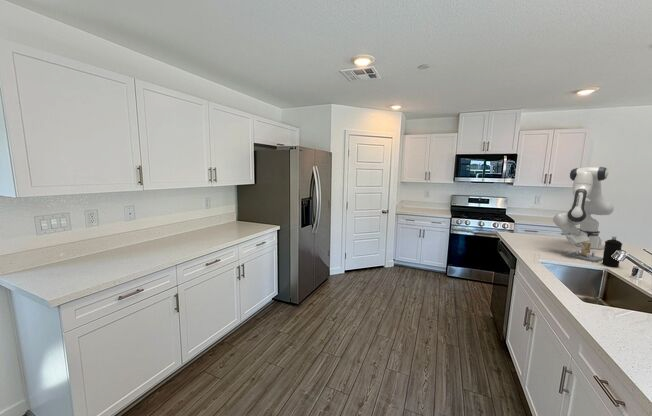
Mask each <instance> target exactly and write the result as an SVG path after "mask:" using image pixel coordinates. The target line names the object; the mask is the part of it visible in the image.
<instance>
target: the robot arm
mask: <svg viewBox="0 0 652 416" xmlns="http://www.w3.org/2000/svg"><path fill="white" fill-rule="evenodd" d="M608 176H609V170H608V168H607V167H604V166H599V167H598V166H588V167H575V168H573V169H571V170H570V173H569V179H570V180H571V181H573V183H572V195H573V197H574V198H573V201H572V202H573V203H572V205H571V208H570V209H569V210H568V212H566V213H563V212H562V213H561V212H560V213H557V214H556V215H554V217H553V219H552V222H553V223H554V224H555V226H556V227H557V228H558V229H559V230H561V232H562V233H563V235H564V236H565V237H566V240H567V241H568V242H569V243H570V244H571V245H572V246H577V247H579V248H581V249H586V247H585V246H583V245H582V243H583V242H589V243H591V247H590V249H593V250H594V249H595V250H596V249H597V250H602V249H604V247H605V244H602V243H603V242H602V241H603V240H602V239H601V238H600V236H599V235H600V231H599V224H600V223H599V221H598V220H597V219H596V218H594V217H592V215H594V216H609V215H611V214H612V213H613V212H614V210H615V209H614V206H613V204H612V203H610V202H608V200H606V199H605V198H604V196H603V195H602V181H605V180H606V179H607V178H608ZM587 199H588V200H587ZM576 226H579V227H576Z"/></svg>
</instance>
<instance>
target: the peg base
mask: <svg viewBox="0 0 652 416" xmlns="http://www.w3.org/2000/svg"><path fill="white" fill-rule="evenodd" d="M595 253H596V252H595V251H591V254H590V255H589V253H587V254H586V256H585V255H581V252H580V251H579V250H576V251H573V252H569V253H566V254H565V257H568V256H569V257H568V258H573V259H578V260H582V261H587V262H590V261H591V263H594V262H596V263H599V261H600V262H603V261H602V260H603V257H602V256H597V255H595Z"/></svg>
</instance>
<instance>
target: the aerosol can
mask: <svg viewBox="0 0 652 416" xmlns="http://www.w3.org/2000/svg"><path fill="white" fill-rule="evenodd" d="M604 246H605V247H604V248H603V255H602V256H603V257H602V258H603V261H601V265H602V264H603V265H602V266H605V267H609V268H620V261H617V260H615V259H613V258H612V257H611V255H612V254H613V253H614V252H615V251H616V250H621V251H622V246H623V243H622V242H621V241H619V240H617V236H611V239H607V240H605V241H604Z"/></svg>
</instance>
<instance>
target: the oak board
mask: <svg viewBox="0 0 652 416" xmlns="http://www.w3.org/2000/svg"><path fill="white" fill-rule="evenodd" d="M582 245H583V246H585V247H586V249H582V248H581V249H580V253H581V255H585V256H586V254H587V253H589V255H591V254H590V252H591V248H590V247H591V243H589V242H583V243H582Z"/></svg>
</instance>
